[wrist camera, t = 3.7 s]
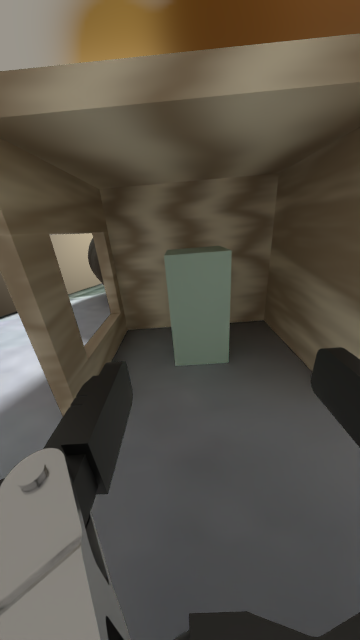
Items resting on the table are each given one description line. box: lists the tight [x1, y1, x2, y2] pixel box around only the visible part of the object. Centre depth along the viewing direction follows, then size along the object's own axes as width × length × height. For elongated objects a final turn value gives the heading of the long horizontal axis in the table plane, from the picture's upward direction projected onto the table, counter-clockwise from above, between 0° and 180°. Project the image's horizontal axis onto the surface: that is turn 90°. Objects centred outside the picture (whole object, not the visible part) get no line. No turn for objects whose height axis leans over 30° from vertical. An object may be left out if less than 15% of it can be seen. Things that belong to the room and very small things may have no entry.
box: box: [0, 34, 360, 416], centre depth 17 cm, size 20×15×17 cm
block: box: [164, 246, 232, 366], centre depth 19 cm, size 5×5×10 cm
